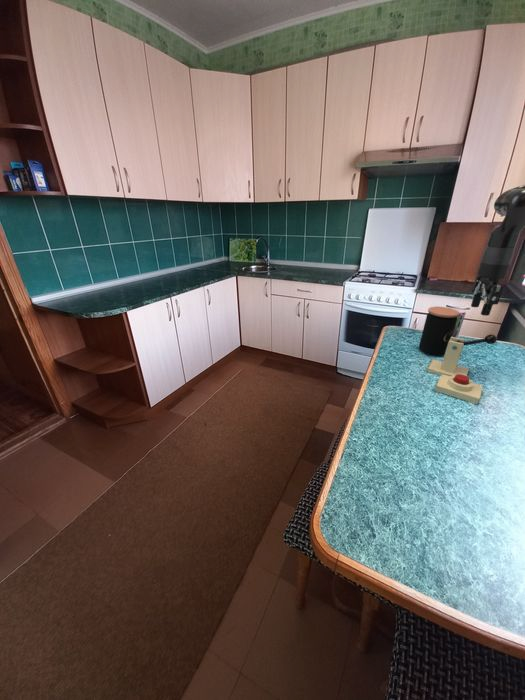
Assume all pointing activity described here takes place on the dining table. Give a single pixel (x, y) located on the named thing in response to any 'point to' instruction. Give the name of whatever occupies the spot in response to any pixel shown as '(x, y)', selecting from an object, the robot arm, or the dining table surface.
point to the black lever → (481, 340)
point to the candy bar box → (458, 323)
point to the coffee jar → (438, 330)
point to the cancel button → (461, 379)
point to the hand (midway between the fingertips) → (479, 310)
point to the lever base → (449, 360)
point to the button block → (459, 389)
